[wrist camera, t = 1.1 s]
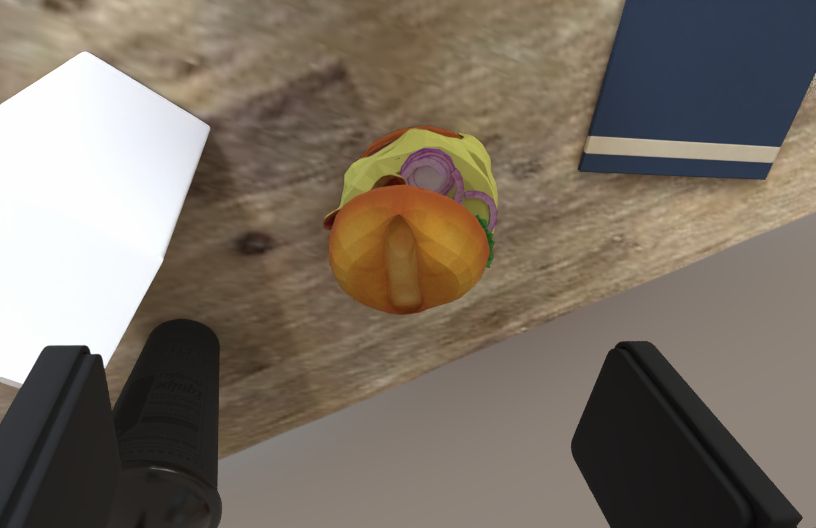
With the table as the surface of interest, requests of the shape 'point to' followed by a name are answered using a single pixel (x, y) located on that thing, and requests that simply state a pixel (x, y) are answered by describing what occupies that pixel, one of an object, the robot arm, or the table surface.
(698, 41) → the dish cloth
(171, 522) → the drinking cup
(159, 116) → the milk carton
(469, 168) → the cheeseburger
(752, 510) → the robot arm
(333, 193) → the table surface
